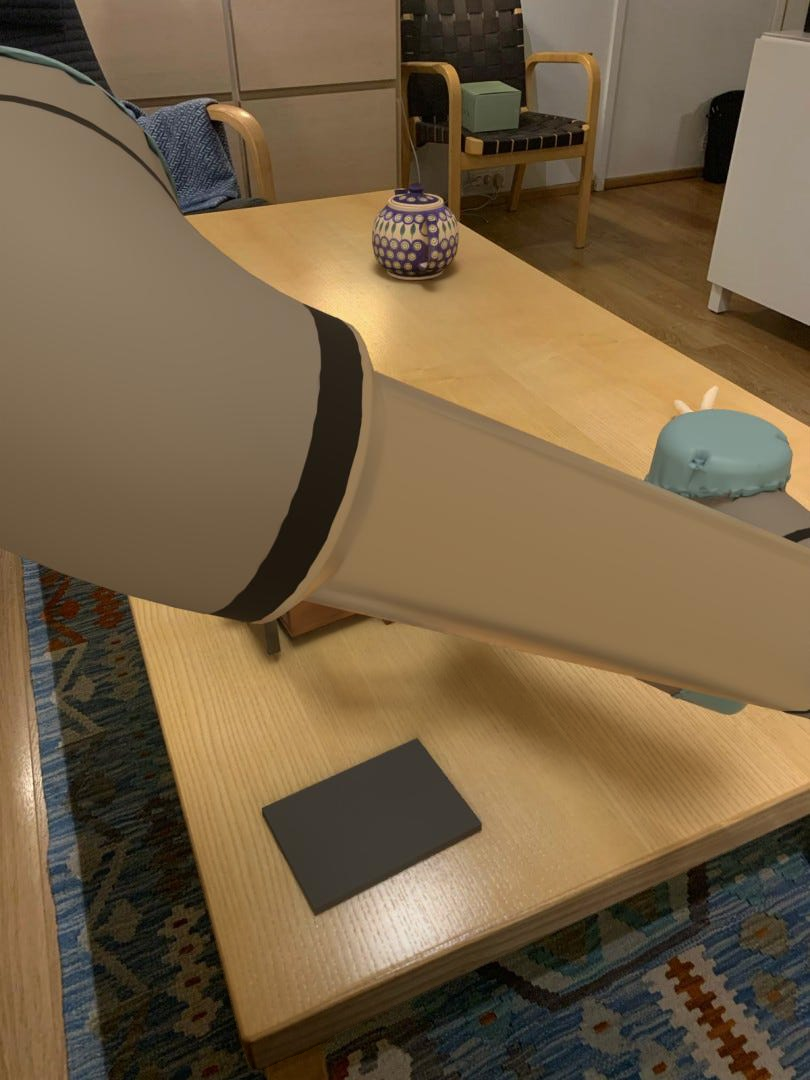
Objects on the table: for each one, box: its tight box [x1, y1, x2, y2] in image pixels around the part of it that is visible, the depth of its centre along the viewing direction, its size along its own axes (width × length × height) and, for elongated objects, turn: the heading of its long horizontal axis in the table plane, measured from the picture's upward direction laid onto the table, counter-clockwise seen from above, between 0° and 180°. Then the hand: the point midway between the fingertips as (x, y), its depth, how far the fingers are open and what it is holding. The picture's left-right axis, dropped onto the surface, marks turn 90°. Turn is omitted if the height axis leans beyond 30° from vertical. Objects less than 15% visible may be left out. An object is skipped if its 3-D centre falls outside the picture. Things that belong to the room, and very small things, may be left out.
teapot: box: [371, 182, 460, 281], centre depth 150 cm, size 25×15×15 cm, turn 11°
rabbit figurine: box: [672, 385, 719, 415], centre depth 106 cm, size 6×4×8 cm
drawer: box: [246, 601, 357, 657], centre depth 80 cm, size 15×13×7 cm
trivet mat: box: [260, 737, 483, 916], centre depth 62 cm, size 13×9×1 cm
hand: (319, 489), depth 73 cm, fingers open, 13 cm apart
